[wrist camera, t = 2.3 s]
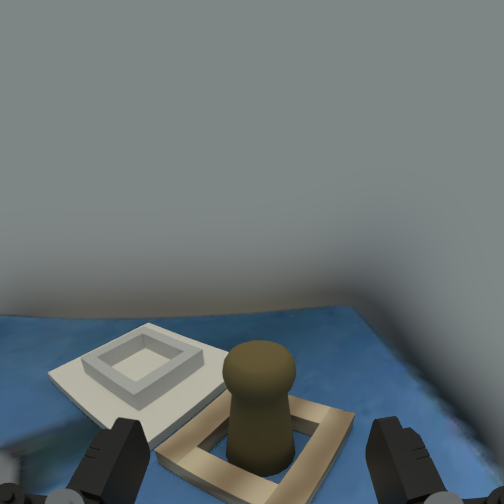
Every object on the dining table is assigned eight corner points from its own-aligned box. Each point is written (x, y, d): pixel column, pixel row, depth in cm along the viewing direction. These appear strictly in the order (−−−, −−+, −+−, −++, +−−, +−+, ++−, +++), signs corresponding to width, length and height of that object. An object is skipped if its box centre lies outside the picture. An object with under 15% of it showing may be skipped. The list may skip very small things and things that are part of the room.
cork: (273, 420, 28) (274, 323, 25) (308, 459, 23) (321, 358, 20) (215, 440, 26) (202, 341, 23) (244, 486, 20) (236, 387, 17)
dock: (50, 380, 32) (42, 357, 31) (149, 329, 47) (146, 309, 46) (140, 458, 23) (130, 433, 22) (249, 367, 37) (248, 343, 36)
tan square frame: (159, 463, 22) (154, 449, 22) (240, 392, 33) (239, 378, 32) (291, 531, 16) (293, 520, 15) (351, 427, 26) (355, 413, 26)
